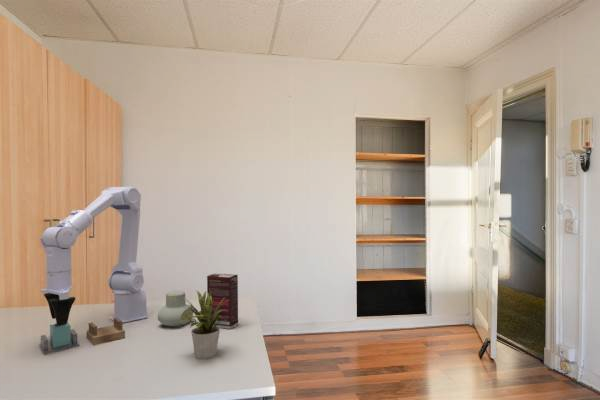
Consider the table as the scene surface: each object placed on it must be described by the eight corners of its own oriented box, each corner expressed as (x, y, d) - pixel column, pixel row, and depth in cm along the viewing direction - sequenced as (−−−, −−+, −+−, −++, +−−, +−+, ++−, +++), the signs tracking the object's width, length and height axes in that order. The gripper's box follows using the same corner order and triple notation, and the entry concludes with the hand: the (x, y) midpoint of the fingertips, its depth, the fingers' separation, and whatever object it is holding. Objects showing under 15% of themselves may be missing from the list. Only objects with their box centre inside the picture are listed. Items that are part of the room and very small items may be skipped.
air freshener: (174, 317, 125) (174, 288, 125) (196, 319, 123) (196, 289, 123) (153, 328, 115) (153, 296, 115) (177, 330, 112) (176, 297, 112)
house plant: (165, 351, 97) (165, 288, 97) (215, 339, 105) (214, 281, 105) (185, 370, 85) (184, 299, 86) (239, 355, 94) (238, 290, 94)
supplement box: (238, 324, 117) (238, 274, 117) (231, 329, 113) (230, 277, 113) (215, 322, 120) (214, 272, 120) (206, 326, 116) (206, 275, 116)
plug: (67, 339, 104) (67, 319, 104) (70, 343, 101) (70, 323, 101) (50, 343, 101) (50, 323, 101) (53, 347, 98) (52, 326, 98)
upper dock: (116, 330, 112) (116, 316, 112) (124, 338, 106) (124, 322, 106) (86, 337, 107) (86, 321, 107) (93, 345, 101) (93, 328, 101)
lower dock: (73, 338, 106) (72, 327, 106) (79, 346, 101) (79, 334, 101) (39, 345, 101) (39, 334, 101) (43, 354, 95) (43, 342, 95)
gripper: (37, 269, 104) (37, 318, 104) (45, 277, 93) (46, 331, 93) (66, 266, 108) (66, 312, 108) (77, 273, 98) (78, 325, 98)
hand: (59, 321), depth 101 cm, fingers open, 7 cm apart
